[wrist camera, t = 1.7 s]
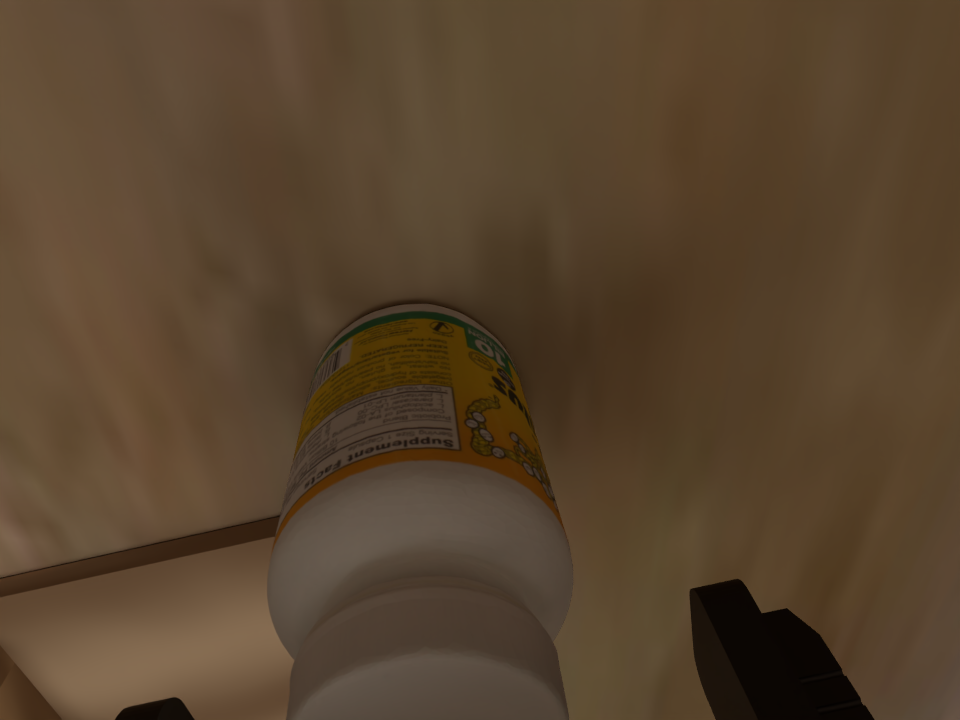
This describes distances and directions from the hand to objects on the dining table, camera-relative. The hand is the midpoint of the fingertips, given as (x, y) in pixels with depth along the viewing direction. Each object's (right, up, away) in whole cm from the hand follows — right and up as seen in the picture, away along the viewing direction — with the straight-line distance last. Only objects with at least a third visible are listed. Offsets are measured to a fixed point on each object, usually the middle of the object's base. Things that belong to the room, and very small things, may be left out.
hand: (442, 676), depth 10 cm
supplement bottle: (-1, +4, +7) cm, 9 cm away
